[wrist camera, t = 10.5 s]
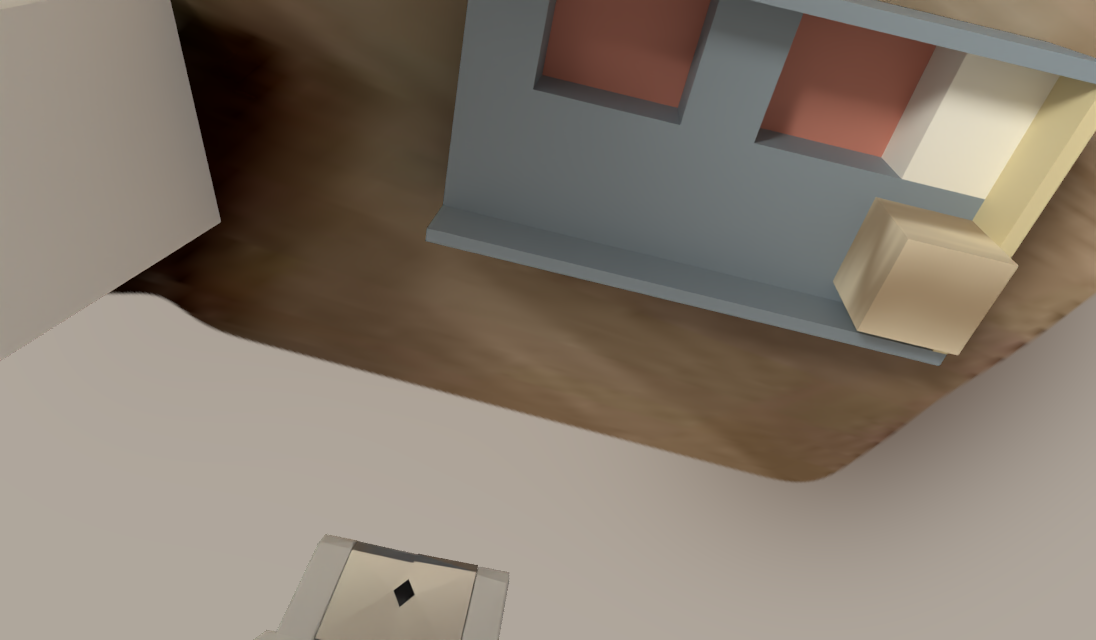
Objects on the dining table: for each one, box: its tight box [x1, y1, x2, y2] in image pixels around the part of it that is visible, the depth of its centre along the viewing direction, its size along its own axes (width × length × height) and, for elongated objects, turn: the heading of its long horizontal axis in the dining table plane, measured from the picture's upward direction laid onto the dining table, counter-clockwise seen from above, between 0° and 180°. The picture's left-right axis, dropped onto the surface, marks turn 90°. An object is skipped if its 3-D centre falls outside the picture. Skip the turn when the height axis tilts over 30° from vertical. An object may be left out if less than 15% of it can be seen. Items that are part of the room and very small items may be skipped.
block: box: [833, 197, 1018, 355], centre depth 26 cm, size 4×4×4 cm
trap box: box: [425, 0, 1096, 366], centre depth 27 cm, size 12×22×6 cm, turn 78°
